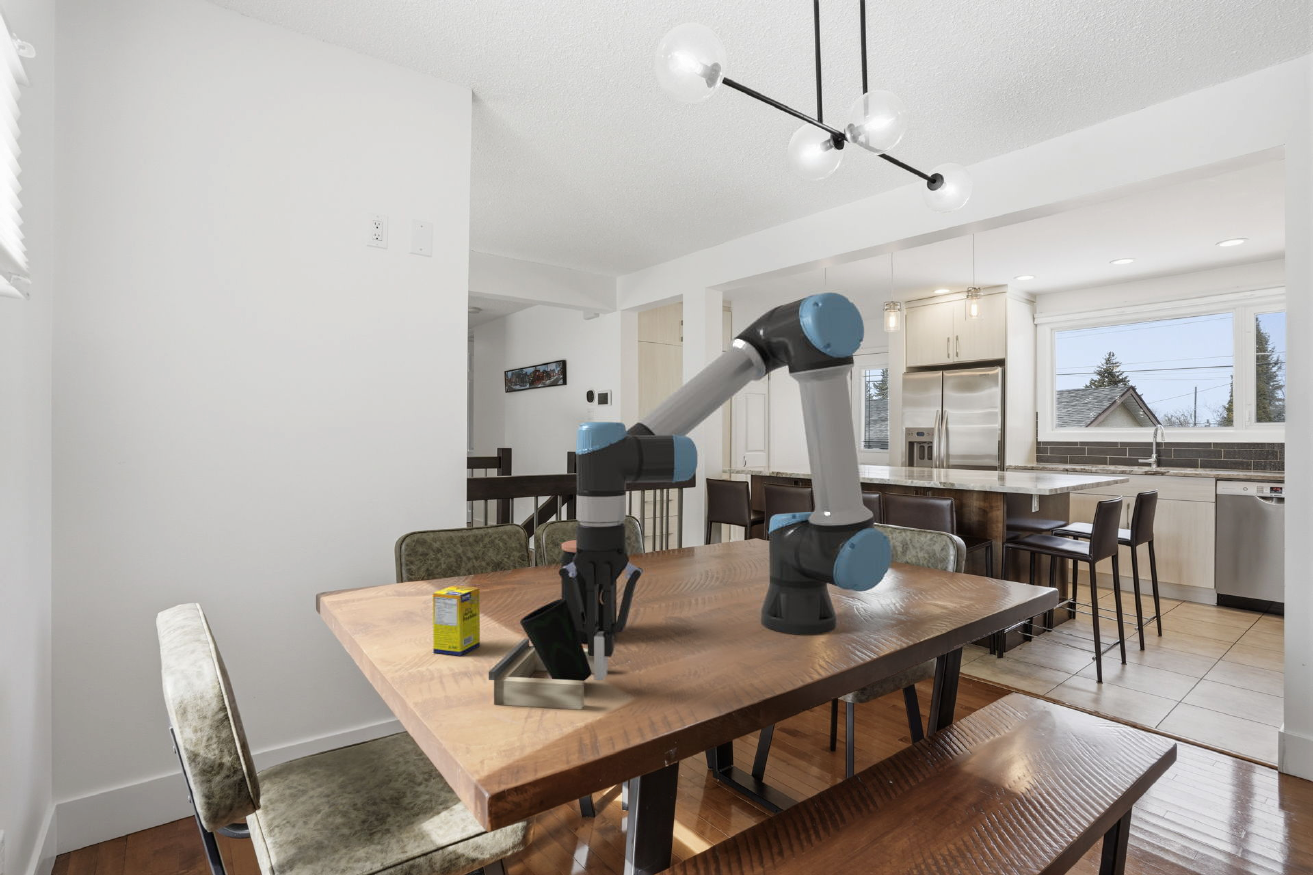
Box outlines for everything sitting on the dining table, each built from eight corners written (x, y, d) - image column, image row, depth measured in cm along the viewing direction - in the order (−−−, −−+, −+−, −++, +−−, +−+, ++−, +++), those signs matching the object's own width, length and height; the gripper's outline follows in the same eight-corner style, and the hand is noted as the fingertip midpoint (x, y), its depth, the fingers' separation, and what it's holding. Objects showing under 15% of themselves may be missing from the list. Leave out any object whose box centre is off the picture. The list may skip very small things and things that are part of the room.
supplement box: (480, 646, 116) (480, 587, 116) (460, 656, 110) (460, 594, 110) (453, 642, 117) (453, 584, 117) (432, 653, 112) (432, 592, 112)
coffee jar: (608, 646, 115) (607, 549, 115) (553, 642, 117) (553, 547, 117) (622, 628, 126) (622, 539, 126) (572, 625, 128) (572, 538, 128)
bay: (604, 670, 103) (604, 641, 103) (581, 709, 88) (581, 676, 88) (524, 666, 105) (524, 638, 105) (488, 703, 90) (488, 671, 90)
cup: (553, 685, 99) (522, 616, 99) (597, 663, 100) (566, 594, 101) (550, 700, 91) (517, 625, 92) (598, 676, 92) (564, 602, 93)
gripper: (646, 520, 98) (646, 669, 98) (566, 518, 100) (566, 665, 100) (639, 526, 91) (638, 688, 91) (552, 525, 93) (552, 684, 92)
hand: (600, 676), depth 95 cm, fingers closed
